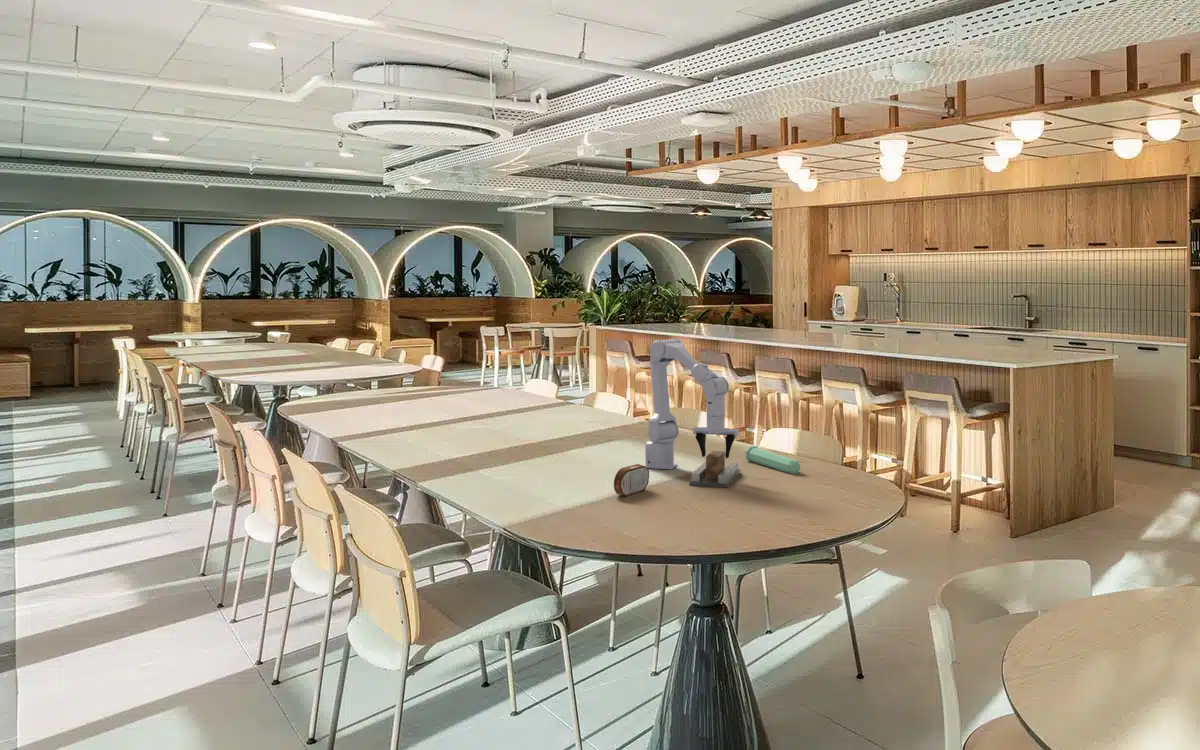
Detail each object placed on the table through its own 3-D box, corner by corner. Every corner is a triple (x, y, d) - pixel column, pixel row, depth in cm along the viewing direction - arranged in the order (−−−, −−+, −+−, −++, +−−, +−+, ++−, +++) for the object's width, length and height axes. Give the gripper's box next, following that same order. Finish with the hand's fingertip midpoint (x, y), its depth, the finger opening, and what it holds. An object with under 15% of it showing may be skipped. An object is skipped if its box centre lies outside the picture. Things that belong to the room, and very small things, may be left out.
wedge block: (706, 478, 284) (706, 456, 283) (712, 471, 293) (712, 450, 293) (718, 478, 283) (718, 457, 282) (724, 472, 292) (724, 451, 291)
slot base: (689, 485, 280) (689, 473, 280) (704, 470, 301) (704, 460, 300) (727, 487, 276) (727, 476, 276) (740, 472, 297) (740, 462, 296)
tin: (643, 488, 277) (642, 461, 276) (651, 489, 275) (651, 462, 274) (612, 497, 266) (612, 469, 265) (621, 499, 264) (620, 471, 263)
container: (800, 456, 294) (755, 442, 316) (787, 464, 292) (742, 450, 314) (806, 471, 295) (760, 457, 318) (792, 480, 293) (748, 465, 316)
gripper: (690, 416, 285) (690, 458, 286) (735, 418, 280) (735, 460, 281) (695, 412, 291) (695, 453, 293) (739, 414, 287) (739, 456, 288)
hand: (715, 456), depth 288 cm, fingers open, 7 cm apart
